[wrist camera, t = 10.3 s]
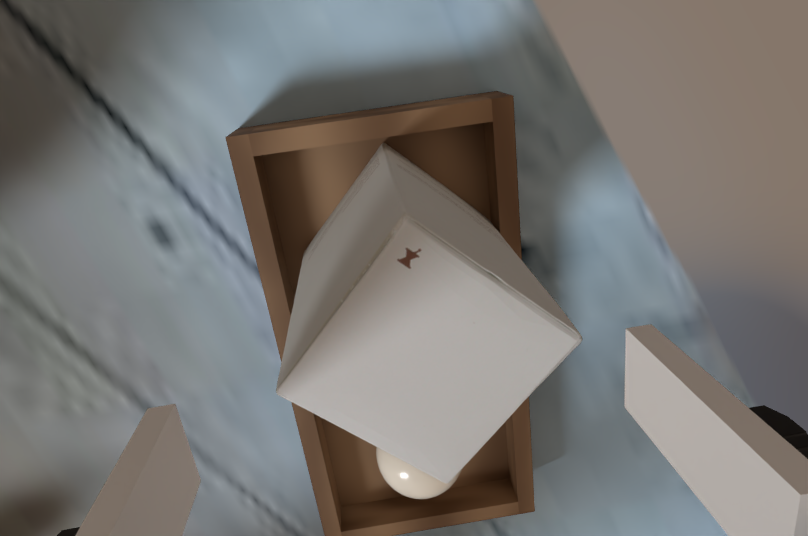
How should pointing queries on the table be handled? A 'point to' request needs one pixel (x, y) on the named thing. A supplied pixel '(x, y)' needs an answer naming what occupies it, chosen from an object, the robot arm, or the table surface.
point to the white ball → (409, 477)
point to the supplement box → (417, 321)
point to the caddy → (300, 222)
